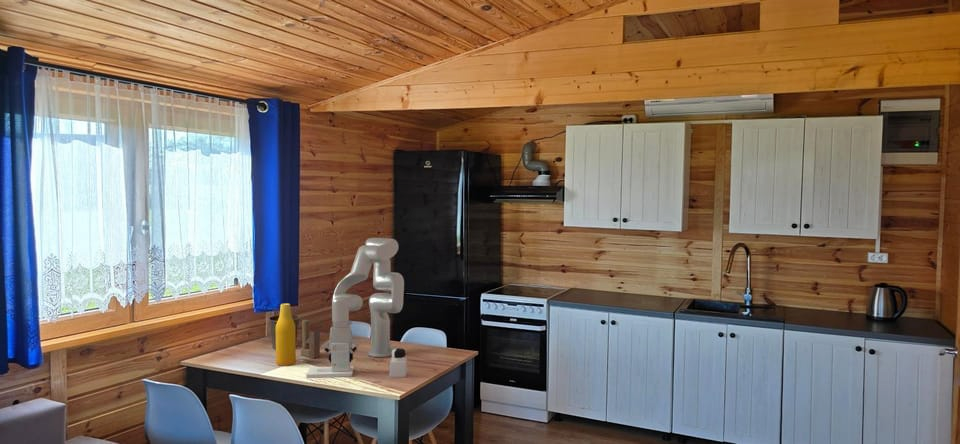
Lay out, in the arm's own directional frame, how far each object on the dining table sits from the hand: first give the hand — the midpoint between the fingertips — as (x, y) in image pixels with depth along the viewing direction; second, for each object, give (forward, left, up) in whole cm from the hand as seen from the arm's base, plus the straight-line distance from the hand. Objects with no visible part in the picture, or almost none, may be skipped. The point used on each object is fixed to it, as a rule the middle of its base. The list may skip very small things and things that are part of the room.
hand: (340, 361), depth 298 cm
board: (+5, 0, -5) cm, 7 cm away
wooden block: (+18, -31, -6) cm, 36 cm away
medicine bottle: (-26, +6, -6) cm, 28 cm away
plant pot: (+34, -51, -6) cm, 61 cm away
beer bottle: (+28, -19, -6) cm, 34 cm away
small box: (0, 0, -4) cm, 4 cm away
